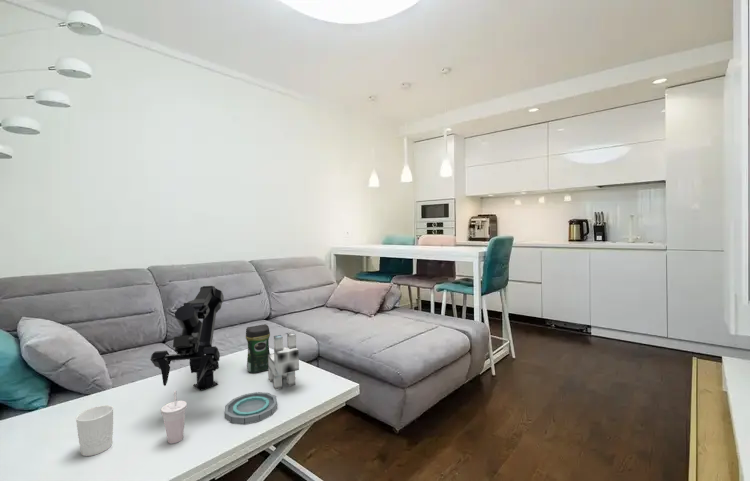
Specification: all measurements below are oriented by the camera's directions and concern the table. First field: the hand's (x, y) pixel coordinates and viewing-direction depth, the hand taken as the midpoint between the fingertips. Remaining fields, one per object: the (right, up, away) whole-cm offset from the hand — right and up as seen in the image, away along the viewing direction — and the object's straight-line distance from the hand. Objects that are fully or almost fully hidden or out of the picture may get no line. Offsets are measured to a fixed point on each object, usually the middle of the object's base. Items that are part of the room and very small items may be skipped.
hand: (181, 383), depth 105 cm
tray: (+18, -12, +9) cm, 24 cm away
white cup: (-18, -14, -10) cm, 25 cm away
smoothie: (+2, -14, -6) cm, 15 cm away
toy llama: (+23, -12, +28) cm, 38 cm away
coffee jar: (+10, -11, +41) cm, 44 cm away
